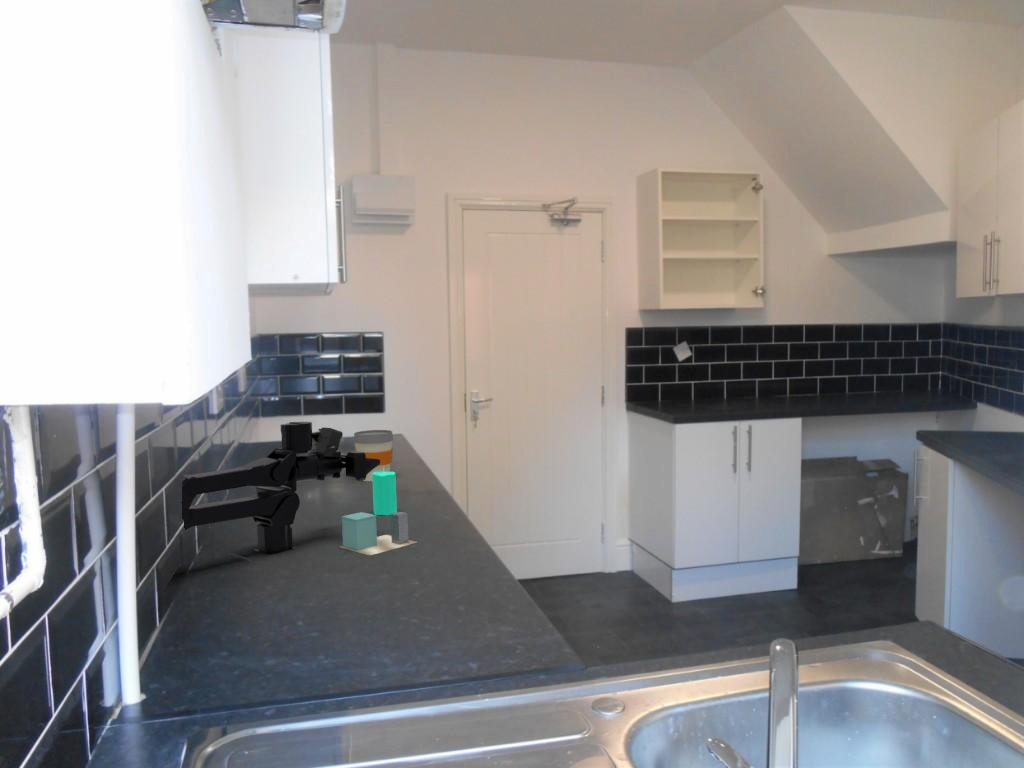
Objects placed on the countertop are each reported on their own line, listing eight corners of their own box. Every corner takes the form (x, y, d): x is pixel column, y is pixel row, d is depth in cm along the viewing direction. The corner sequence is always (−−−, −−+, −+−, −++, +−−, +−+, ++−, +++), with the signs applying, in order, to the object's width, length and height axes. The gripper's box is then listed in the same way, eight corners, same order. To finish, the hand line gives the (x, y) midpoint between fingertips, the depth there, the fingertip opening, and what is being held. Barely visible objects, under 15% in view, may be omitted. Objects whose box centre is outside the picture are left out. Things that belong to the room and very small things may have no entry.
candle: (368, 514, 208) (367, 468, 208) (383, 509, 214) (381, 464, 213) (387, 516, 206) (386, 469, 205) (401, 511, 211) (399, 465, 210)
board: (370, 558, 168) (369, 555, 168) (338, 549, 175) (338, 546, 175) (417, 544, 177) (417, 542, 177) (386, 537, 185) (386, 534, 185)
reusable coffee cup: (351, 477, 262) (349, 431, 261) (388, 473, 268) (386, 428, 267) (360, 484, 251) (358, 436, 250) (399, 479, 256) (398, 432, 255)
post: (399, 547, 176) (398, 515, 175) (391, 545, 177) (390, 513, 177) (408, 544, 177) (407, 513, 177) (401, 542, 179) (399, 511, 179)
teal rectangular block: (357, 550, 172) (356, 519, 171) (343, 546, 175) (341, 516, 175) (377, 545, 175) (375, 515, 175) (362, 541, 179) (361, 512, 179)
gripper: (333, 433, 174) (391, 427, 185) (287, 429, 187) (344, 424, 198) (334, 484, 174) (392, 476, 186) (289, 477, 187) (345, 470, 199)
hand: (368, 460), depth 192 cm, fingers open, 9 cm apart
